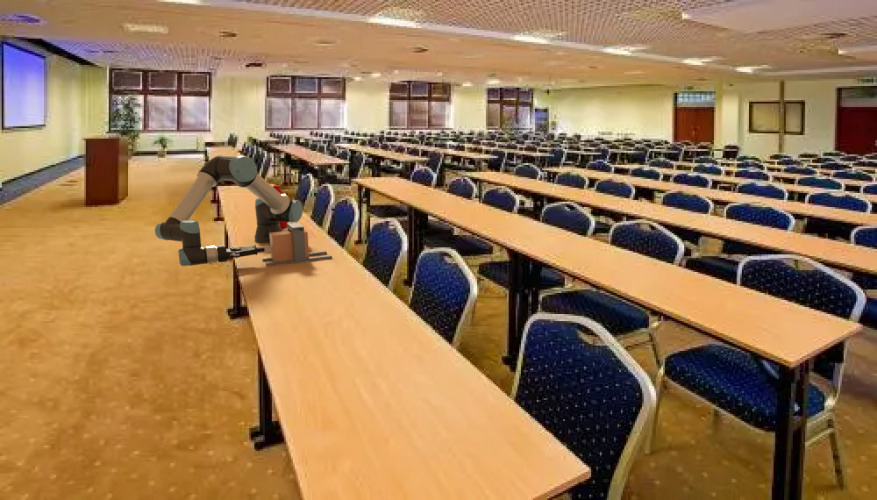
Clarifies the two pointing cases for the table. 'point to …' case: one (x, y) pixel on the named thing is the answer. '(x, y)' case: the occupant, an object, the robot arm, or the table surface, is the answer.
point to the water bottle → (278, 188)
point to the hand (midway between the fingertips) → (271, 248)
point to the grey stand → (298, 247)
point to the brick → (284, 245)
